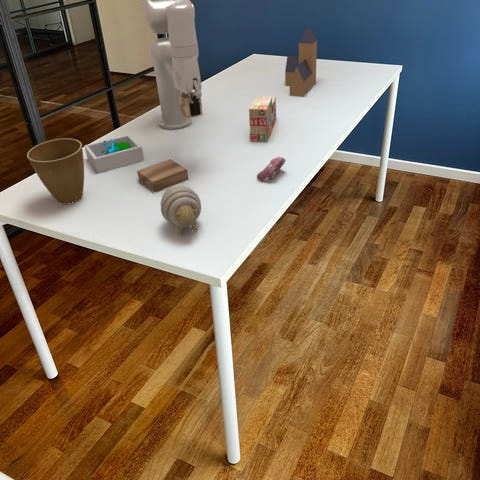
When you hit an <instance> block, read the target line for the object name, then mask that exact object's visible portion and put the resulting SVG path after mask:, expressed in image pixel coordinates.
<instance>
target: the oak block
mask: <svg viewBox="0 0 480 480" xmlns="http://www.w3.org/2000/svg"><path fill="white" fill-rule="evenodd" d="M193 96H195V94H192V98H193ZM179 101H180V109H181V115H183V116H185V117H186V118H188V119H190V118H191V119H192V118H197V117H200V116H203V115H204V113H203V112H204V111H203V104H202V96H201V97H200V110H201V114H200V115H196V116H191V114H190V106H189V103H190V99H189V94H188V95H187V94H181V95H179Z"/></svg>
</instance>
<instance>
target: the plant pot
mask: <svg viewBox="0 0 480 480" xmlns="http://www.w3.org/2000/svg"><path fill="white" fill-rule="evenodd" d="M26 156H27V159H28V161H29V163H30V164H31V166H32V168H33V170H34V172H35V173H36V175H37V176H38V178H39V180H40V182H41V183H42V184H43V186H44V187H45V188H46V190H47V191H48V192H49V194H51V196H52V197H53V198H54V199H55V201H57V203H58V204H60V203H63V204H62V205H69V204H68V203H71V204H73V203H72V202H74V203H77V202H79V201H80V200H81V199H82V198H83V194H84V185H85V162H84V161H85V159H84V151H83V144H82V142H81V141H79V140H78V139H74V138H66V137H65V138H56V139H52V140H47V141H43V142H41V143H38V144H37V145H35V146H34V147H32V148H30V150H28V152H27V154H26ZM79 199H80V200H79ZM76 201H77V202H76Z"/></svg>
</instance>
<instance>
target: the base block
mask: <svg viewBox="0 0 480 480" xmlns="http://www.w3.org/2000/svg"><path fill="white" fill-rule="evenodd" d="M136 172H137V173H136V174H137V178H138V181H139V183H141V184H142V185H144V187H146V188H148V189H149V190H151V191H152V192H153V193H158V192H160V191H164V190H165V189H166V190H167V189H168V188H169V187H171V186H174V185H180V184H181V183H184V182H186V181H189V173H188V168H187V167H185V166H183V165H182V164H179V163H178V162H176V161H175V160H173V159H172V158H169V159H167V160H164V161H160V162H158V163H155V164H153V165H152V164H151V165H150V166H147V167H144V168H141V169H139V170H136Z"/></svg>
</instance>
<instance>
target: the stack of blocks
mask: <svg viewBox="0 0 480 480" xmlns="http://www.w3.org/2000/svg"><path fill="white" fill-rule="evenodd" d="M276 103H277V101H276V96H255V97H254V99H253V100H252V103H251V105H249V108H248V114H249V118H248V121H249V132H250V133H249V135H250V136H249V137H250V140H249V141H250V142H251V143H252V142H253V143H268V141H269V139H270V138H271V136H272V132H273V129H274V127H275V124H276V122H277V104H276Z"/></svg>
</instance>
